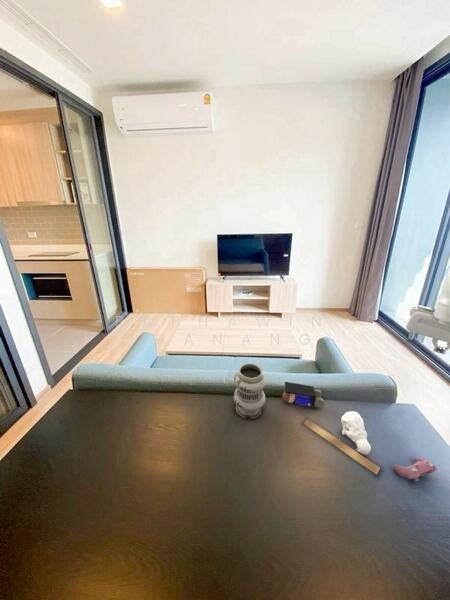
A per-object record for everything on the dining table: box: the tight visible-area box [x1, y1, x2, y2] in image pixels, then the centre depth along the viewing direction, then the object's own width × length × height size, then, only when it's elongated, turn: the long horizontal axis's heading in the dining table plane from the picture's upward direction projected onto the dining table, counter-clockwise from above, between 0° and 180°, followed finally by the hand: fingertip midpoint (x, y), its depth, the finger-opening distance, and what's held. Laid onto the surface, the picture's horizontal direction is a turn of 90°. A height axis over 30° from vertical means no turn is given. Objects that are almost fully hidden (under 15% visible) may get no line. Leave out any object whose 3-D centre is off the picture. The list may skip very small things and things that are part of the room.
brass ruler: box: [303, 418, 381, 476], centre depth 80 cm, size 24×3×1 cm, turn 42°
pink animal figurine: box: [393, 457, 438, 482], centre depth 70 cm, size 10×5×7 cm, turn 105°
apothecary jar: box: [232, 363, 267, 420], centre depth 91 cm, size 12×12×18 cm
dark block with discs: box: [282, 381, 325, 409], centre depth 96 cm, size 7×8×15 cm
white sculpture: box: [340, 410, 372, 455], centre depth 80 cm, size 6×8×12 cm
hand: (438, 352), depth 79 cm, fingers closed
